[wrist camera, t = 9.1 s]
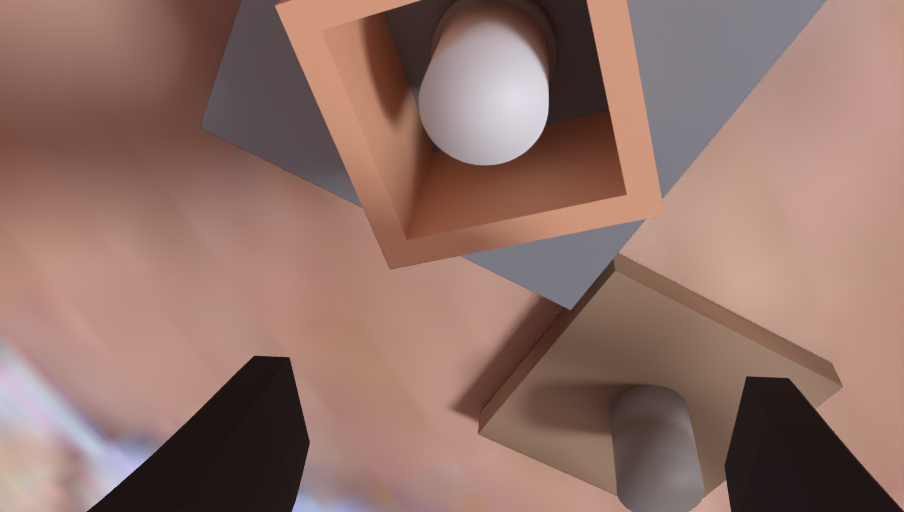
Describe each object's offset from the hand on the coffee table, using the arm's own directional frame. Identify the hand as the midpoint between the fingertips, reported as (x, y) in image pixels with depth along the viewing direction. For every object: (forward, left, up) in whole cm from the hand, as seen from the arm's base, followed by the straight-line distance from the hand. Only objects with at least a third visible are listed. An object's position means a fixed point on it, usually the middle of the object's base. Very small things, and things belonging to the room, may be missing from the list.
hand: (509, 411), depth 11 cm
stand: (-5, -8, -9) cm, 13 cm away
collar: (+3, +2, -8) cm, 8 cm away
